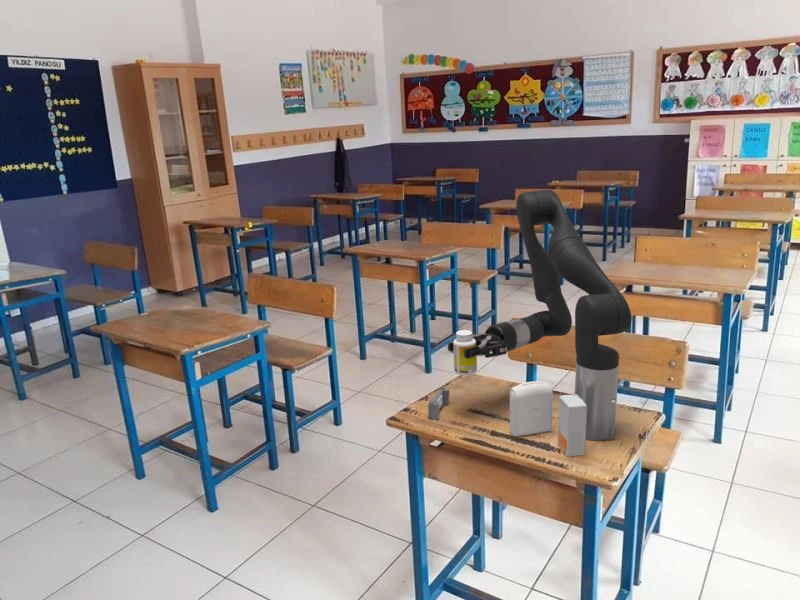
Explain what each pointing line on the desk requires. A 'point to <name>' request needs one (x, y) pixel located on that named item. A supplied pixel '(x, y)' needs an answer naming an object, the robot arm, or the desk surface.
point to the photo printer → (531, 408)
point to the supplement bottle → (459, 345)
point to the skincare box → (572, 425)
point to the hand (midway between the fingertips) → (457, 350)
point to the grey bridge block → (438, 403)
